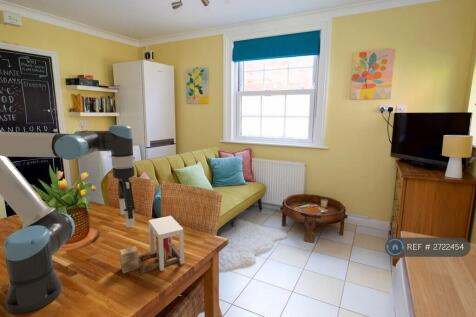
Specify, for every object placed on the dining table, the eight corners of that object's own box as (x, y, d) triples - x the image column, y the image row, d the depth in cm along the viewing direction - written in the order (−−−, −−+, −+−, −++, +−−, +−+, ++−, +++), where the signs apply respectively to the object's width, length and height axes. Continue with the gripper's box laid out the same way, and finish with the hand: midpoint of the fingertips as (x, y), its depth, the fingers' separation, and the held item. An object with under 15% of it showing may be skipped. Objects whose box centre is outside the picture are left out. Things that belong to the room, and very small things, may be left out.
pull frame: (124, 278, 100) (123, 259, 98) (119, 263, 109) (118, 246, 107) (182, 260, 112) (181, 243, 110) (173, 248, 121) (173, 232, 119)
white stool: (160, 270, 104) (158, 234, 102) (150, 252, 118) (148, 220, 115) (184, 263, 110) (183, 229, 107) (171, 246, 123) (170, 215, 120)
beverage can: (167, 263, 110) (166, 236, 107) (154, 261, 111) (152, 235, 109) (174, 255, 116) (173, 230, 113) (161, 253, 117) (160, 228, 115)
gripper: (141, 172, 90) (144, 229, 94) (127, 160, 110) (131, 207, 114) (117, 174, 86) (122, 234, 90) (108, 161, 106) (112, 211, 110)
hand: (127, 219), depth 102 cm, fingers open, 13 cm apart
